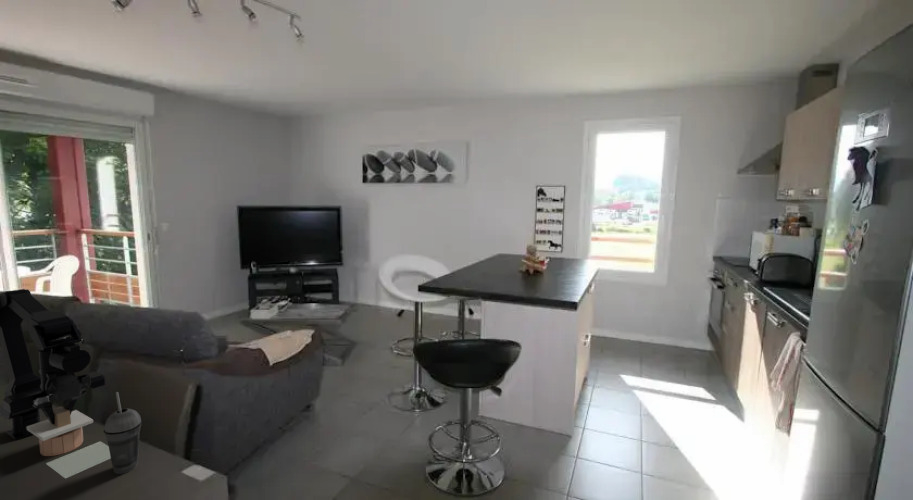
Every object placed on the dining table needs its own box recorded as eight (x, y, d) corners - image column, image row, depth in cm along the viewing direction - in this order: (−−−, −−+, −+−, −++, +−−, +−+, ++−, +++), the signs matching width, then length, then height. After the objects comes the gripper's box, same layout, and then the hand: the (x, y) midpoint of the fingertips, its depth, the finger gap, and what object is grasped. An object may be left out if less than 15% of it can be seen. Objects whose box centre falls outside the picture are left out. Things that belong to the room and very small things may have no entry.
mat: (45, 465, 101) (45, 463, 101) (100, 442, 111) (100, 441, 111) (65, 480, 96) (65, 478, 96) (120, 455, 106) (120, 453, 106)
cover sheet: (26, 429, 105) (25, 413, 104) (76, 412, 114) (75, 398, 113) (42, 441, 100) (41, 424, 100) (93, 422, 109) (92, 407, 109)
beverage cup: (123, 481, 96) (118, 402, 94) (98, 476, 98) (92, 398, 95) (151, 462, 103) (147, 388, 101) (128, 458, 105) (123, 384, 102)
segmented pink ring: (35, 451, 106) (34, 433, 106) (75, 436, 113) (73, 419, 113) (48, 461, 102) (47, 442, 102) (88, 445, 110) (87, 427, 109)
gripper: (16, 385, 93) (22, 449, 95) (114, 359, 110) (117, 413, 112) (-2, 375, 98) (4, 435, 100) (94, 351, 115) (98, 403, 117)
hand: (60, 421), depth 107 cm, fingers closed on cover sheet, 2 cm apart
